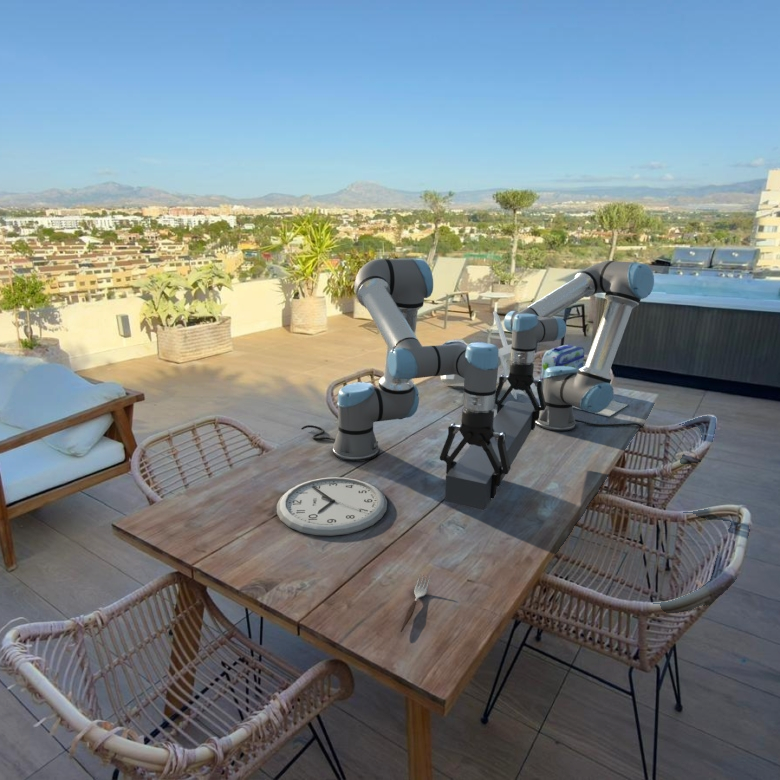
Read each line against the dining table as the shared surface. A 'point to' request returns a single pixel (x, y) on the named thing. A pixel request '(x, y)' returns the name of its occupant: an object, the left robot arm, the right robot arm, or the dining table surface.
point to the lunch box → (563, 358)
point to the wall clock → (331, 506)
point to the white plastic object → (502, 358)
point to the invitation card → (611, 408)
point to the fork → (418, 593)
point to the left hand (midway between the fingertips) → (472, 491)
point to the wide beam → (474, 467)
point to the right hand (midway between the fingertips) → (516, 426)
